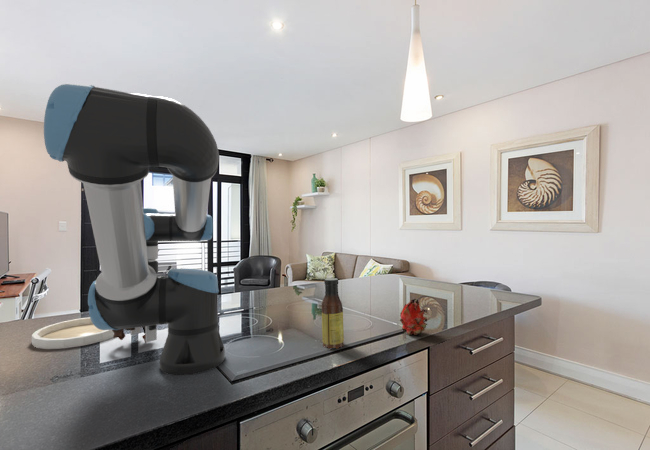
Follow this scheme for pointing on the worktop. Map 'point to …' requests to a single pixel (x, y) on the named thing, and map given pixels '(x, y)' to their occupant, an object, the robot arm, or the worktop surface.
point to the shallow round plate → (69, 334)
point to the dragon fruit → (413, 318)
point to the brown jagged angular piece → (121, 334)
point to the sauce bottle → (332, 315)
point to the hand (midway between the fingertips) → (143, 337)
